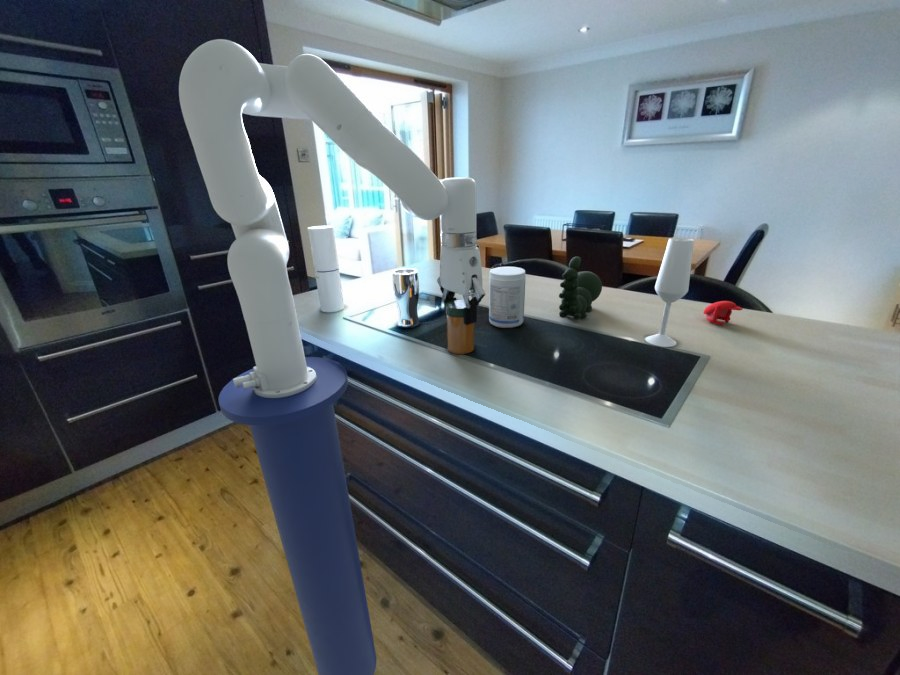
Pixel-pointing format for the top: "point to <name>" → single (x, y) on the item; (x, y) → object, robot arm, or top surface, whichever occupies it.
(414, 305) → the beer glass
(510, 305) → the supplement tub
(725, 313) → the red animal figurine
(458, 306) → the lid
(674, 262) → the champagne flute
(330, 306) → the cylindrical container
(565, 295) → the toy figurine
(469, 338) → the jar
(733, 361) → the top surface
